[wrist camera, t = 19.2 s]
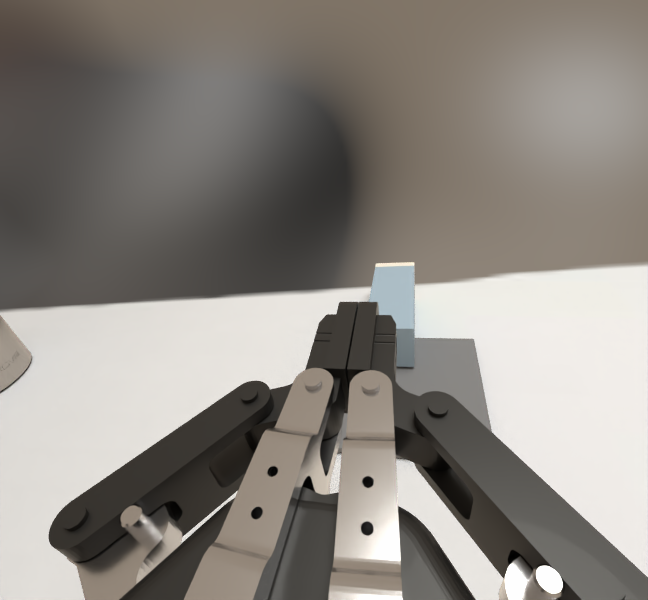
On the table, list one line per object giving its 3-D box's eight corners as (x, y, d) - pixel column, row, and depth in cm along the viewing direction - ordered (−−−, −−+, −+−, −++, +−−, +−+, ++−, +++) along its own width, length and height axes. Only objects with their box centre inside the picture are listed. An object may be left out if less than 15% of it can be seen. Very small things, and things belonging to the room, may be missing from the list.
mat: (294, 448, 28) (292, 444, 27) (324, 341, 37) (323, 336, 37) (496, 466, 24) (497, 461, 24) (473, 343, 34) (473, 338, 34)
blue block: (363, 328, 30) (376, 263, 40) (367, 365, 32) (378, 295, 42) (414, 328, 29) (414, 262, 39) (414, 367, 31) (414, 294, 41)
